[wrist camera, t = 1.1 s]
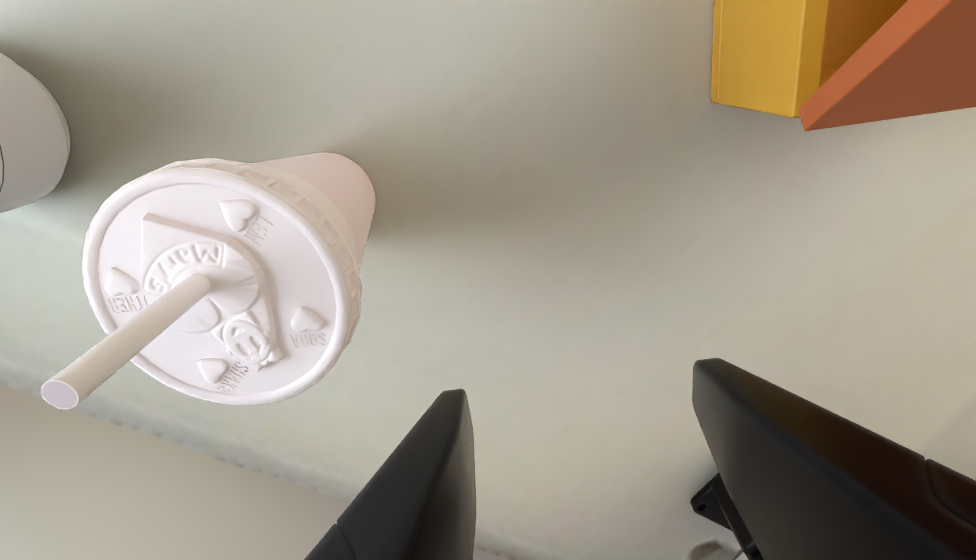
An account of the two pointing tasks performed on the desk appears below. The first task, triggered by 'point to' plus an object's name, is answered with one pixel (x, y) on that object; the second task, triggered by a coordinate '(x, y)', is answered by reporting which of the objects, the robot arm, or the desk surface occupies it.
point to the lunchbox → (786, 48)
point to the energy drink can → (29, 138)
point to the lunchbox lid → (903, 69)
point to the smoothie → (225, 277)
